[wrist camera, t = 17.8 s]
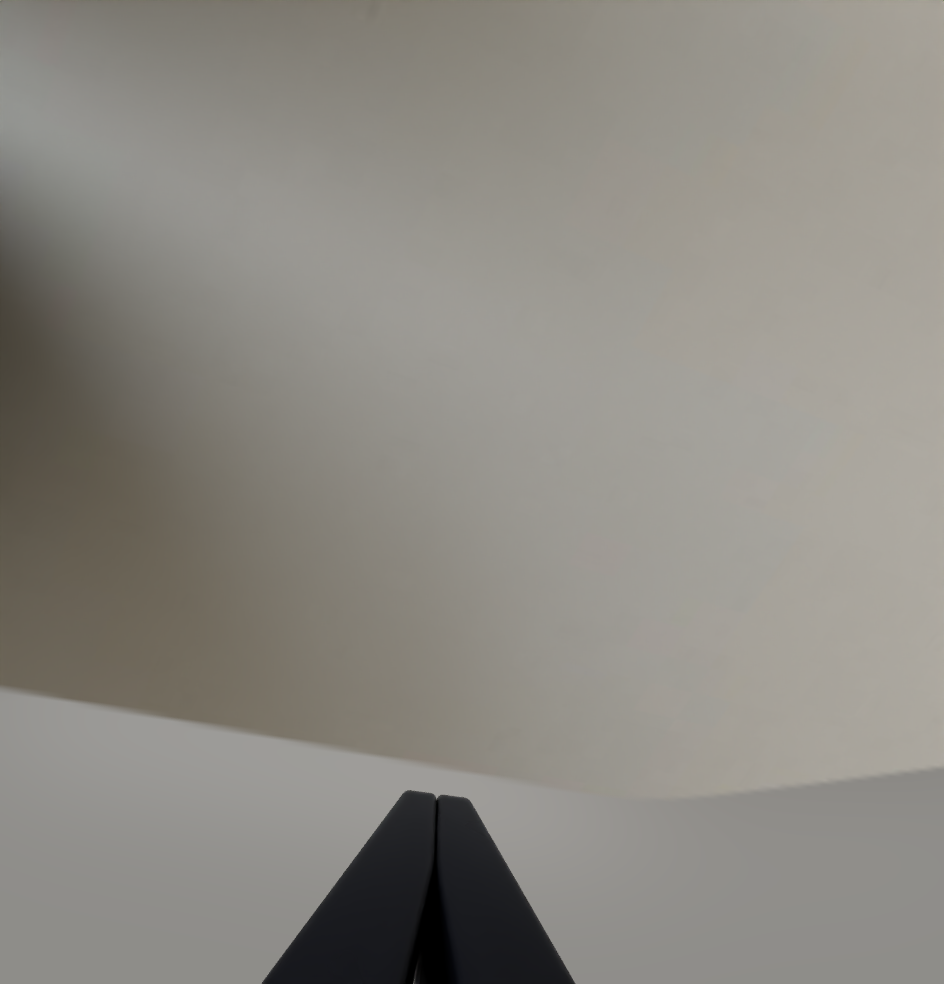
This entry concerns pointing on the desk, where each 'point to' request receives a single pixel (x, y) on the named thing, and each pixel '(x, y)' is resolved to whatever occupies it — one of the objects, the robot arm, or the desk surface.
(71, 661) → the desk surface
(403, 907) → the robot arm
